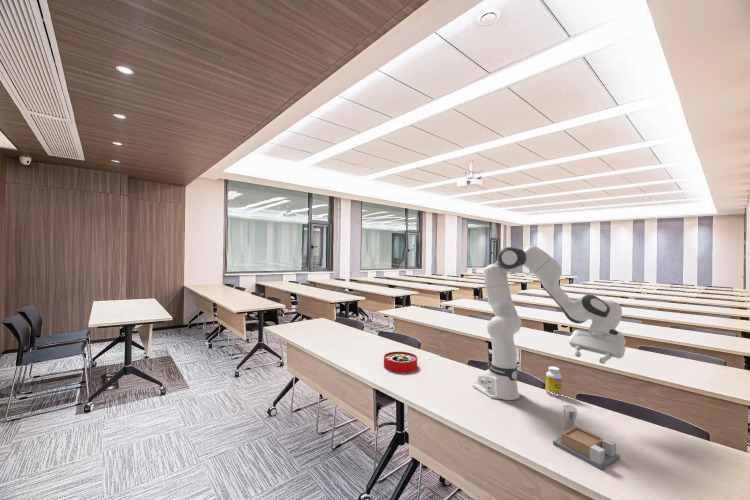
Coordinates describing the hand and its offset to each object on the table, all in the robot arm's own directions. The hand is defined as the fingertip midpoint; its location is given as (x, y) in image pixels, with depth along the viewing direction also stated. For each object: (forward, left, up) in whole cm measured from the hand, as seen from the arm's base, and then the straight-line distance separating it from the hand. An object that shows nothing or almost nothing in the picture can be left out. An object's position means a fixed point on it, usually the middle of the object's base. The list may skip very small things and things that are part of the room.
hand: (589, 359), depth 135 cm
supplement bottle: (-21, +11, -25) cm, 35 cm away
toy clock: (-88, -33, -26) cm, 97 cm away
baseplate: (+11, -25, -25) cm, 37 cm away
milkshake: (0, -15, -25) cm, 29 cm away
